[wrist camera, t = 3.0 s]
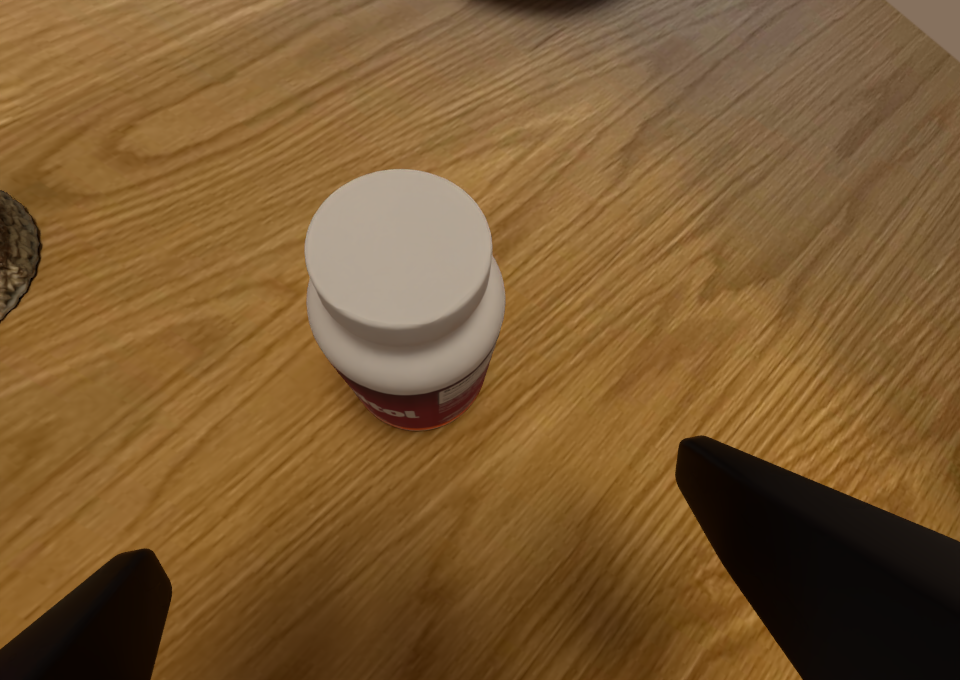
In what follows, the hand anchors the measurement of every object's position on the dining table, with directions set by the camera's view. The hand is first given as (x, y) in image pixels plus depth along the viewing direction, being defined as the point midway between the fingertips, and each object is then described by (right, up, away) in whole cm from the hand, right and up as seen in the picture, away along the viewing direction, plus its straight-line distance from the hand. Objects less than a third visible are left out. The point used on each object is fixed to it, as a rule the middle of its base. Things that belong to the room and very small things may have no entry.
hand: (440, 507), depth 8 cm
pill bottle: (-2, +1, +14) cm, 14 cm away
